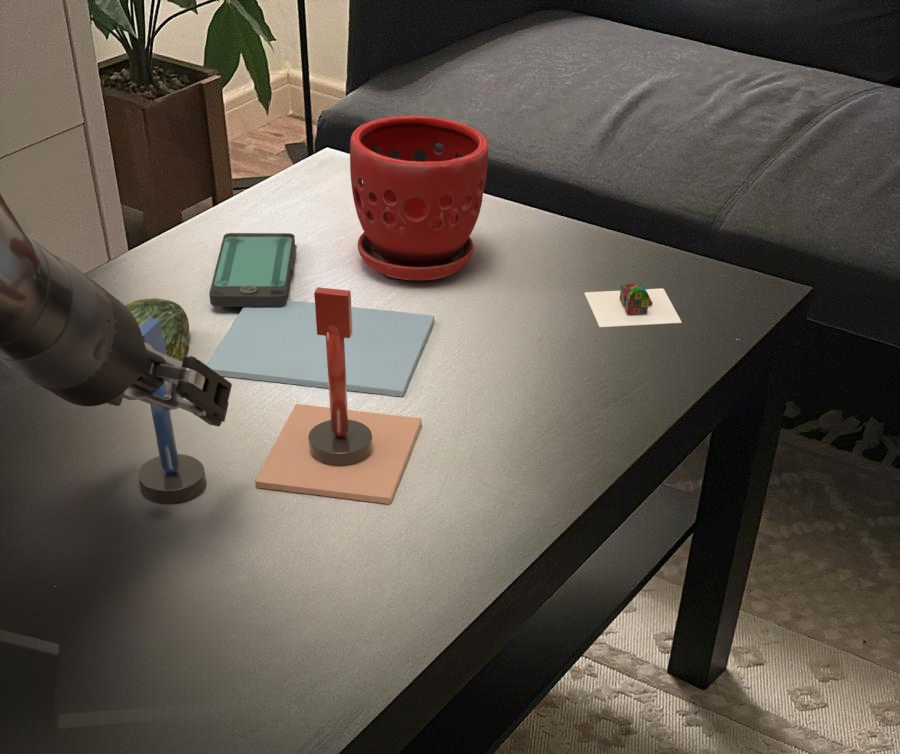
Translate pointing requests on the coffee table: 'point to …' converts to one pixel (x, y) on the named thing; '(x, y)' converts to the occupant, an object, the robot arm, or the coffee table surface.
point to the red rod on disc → (337, 386)
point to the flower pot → (417, 194)
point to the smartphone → (253, 269)
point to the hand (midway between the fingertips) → (168, 402)
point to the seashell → (165, 323)
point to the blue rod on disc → (167, 447)
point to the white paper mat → (632, 306)
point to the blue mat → (322, 347)
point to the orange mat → (358, 481)
